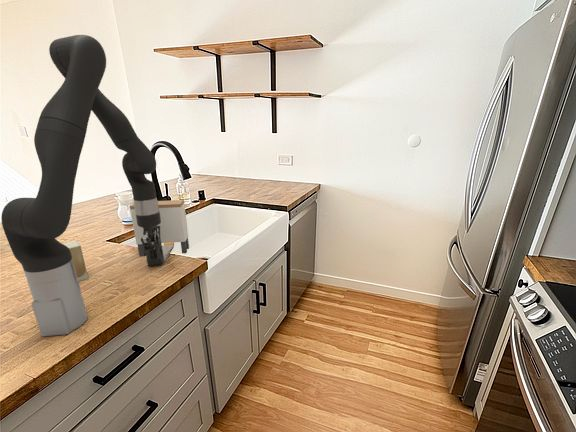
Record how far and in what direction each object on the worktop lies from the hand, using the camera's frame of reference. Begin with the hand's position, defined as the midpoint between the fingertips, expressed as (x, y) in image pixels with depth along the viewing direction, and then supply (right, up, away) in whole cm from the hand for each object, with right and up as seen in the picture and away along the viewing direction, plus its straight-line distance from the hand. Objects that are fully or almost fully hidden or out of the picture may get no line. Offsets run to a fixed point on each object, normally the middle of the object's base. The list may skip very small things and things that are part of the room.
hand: (155, 257), depth 106 cm
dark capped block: (-1, -1, +7) cm, 8 cm away
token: (-2, +2, +17) cm, 18 cm away
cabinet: (-1, 0, +12) cm, 12 cm away
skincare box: (-22, -6, -7) cm, 24 cm away
